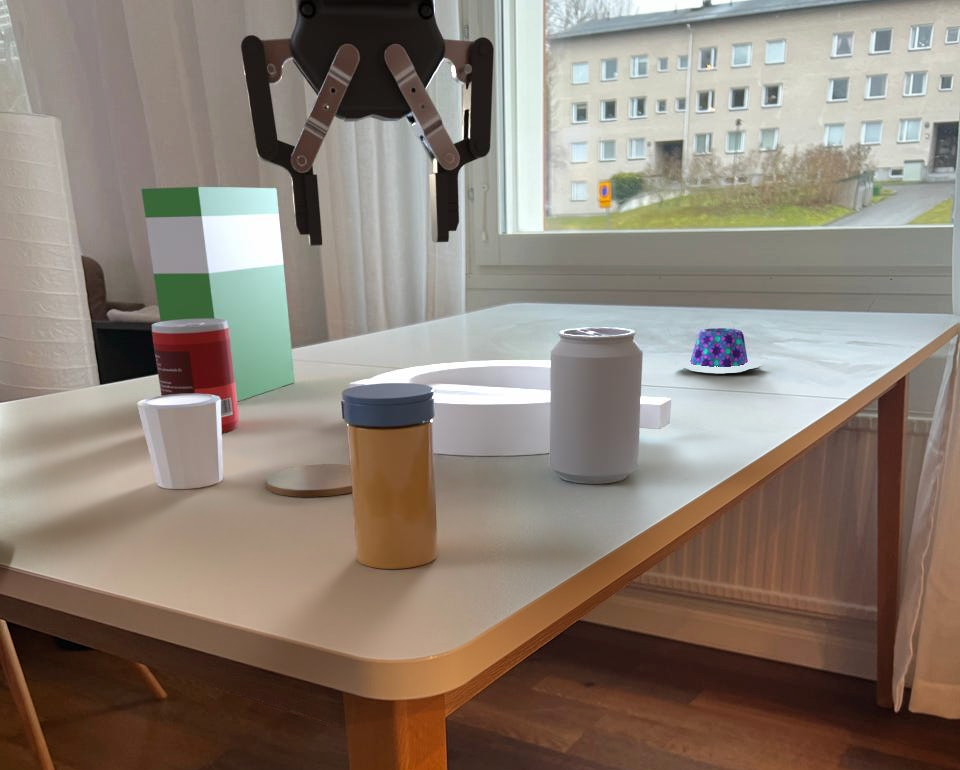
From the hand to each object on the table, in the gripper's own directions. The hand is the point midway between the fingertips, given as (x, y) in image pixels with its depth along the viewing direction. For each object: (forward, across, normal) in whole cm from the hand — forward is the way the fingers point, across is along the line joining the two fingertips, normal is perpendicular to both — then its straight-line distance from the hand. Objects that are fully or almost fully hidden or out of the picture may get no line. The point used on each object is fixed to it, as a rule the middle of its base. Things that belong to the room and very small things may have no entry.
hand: (379, 242), depth 59 cm
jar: (+19, 0, 0) cm, 19 cm away
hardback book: (+20, -12, +71) cm, 75 cm away
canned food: (+20, -15, +48) cm, 54 cm away
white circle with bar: (+20, +16, +40) cm, 47 cm away
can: (+20, +19, +17) cm, 32 cm away
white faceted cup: (+20, -15, +25) cm, 35 cm away
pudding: (+20, +53, +68) cm, 88 cm away
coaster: (+19, -4, +21) cm, 29 cm away
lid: (+9, 0, 0) cm, 9 cm away
